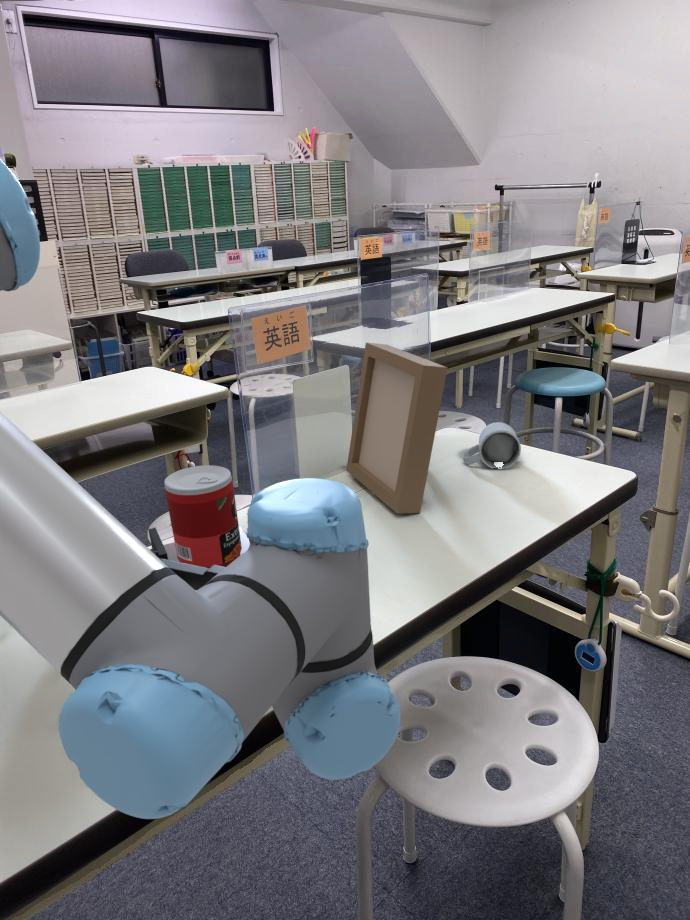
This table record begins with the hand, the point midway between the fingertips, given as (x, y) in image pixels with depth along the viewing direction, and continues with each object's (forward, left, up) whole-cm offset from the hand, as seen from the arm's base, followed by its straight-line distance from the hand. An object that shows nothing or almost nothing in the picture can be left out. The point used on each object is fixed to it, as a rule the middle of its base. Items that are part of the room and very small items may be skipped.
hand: (215, 523), depth 76 cm
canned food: (-3, +7, -8) cm, 11 cm away
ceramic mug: (+41, +56, -18) cm, 71 cm away
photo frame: (+24, +47, -18) cm, 55 cm away
